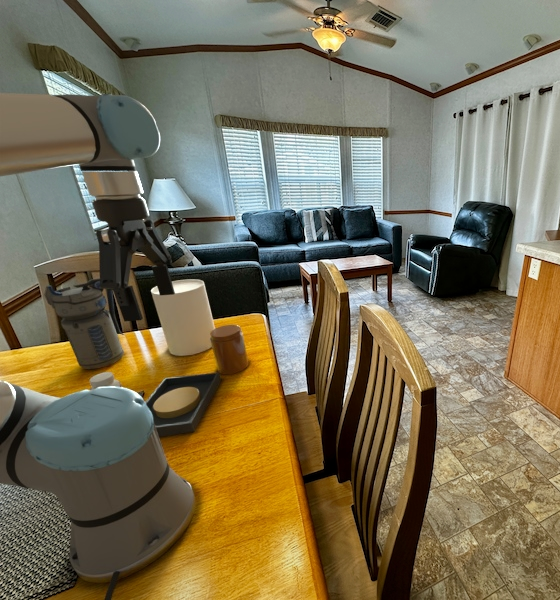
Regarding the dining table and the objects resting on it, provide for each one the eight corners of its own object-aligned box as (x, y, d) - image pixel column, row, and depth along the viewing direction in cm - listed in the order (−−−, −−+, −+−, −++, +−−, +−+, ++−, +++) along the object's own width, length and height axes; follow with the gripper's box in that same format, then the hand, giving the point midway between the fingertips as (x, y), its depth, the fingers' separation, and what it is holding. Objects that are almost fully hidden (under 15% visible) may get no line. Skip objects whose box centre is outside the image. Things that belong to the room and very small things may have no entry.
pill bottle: (128, 414, 76) (114, 378, 72) (98, 423, 73) (82, 387, 69) (130, 401, 80) (117, 367, 76) (102, 409, 77) (87, 374, 73)
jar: (244, 372, 91) (237, 335, 87) (213, 375, 89) (204, 338, 85) (251, 357, 98) (244, 323, 94) (222, 360, 97) (214, 325, 92)
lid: (147, 421, 73) (144, 414, 72) (166, 395, 81) (164, 389, 80) (192, 415, 74) (190, 409, 74) (206, 390, 83) (204, 384, 82)
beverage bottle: (140, 355, 100) (113, 277, 90) (84, 376, 89) (47, 291, 80) (126, 346, 105) (100, 271, 96) (72, 365, 95) (36, 284, 85)
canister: (160, 348, 104) (142, 288, 96) (203, 331, 114) (189, 277, 107) (183, 360, 97) (164, 297, 90) (226, 341, 108) (213, 283, 100)
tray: (194, 432, 70) (191, 422, 69) (124, 441, 68) (121, 432, 67) (221, 379, 88) (219, 371, 87) (167, 385, 85) (164, 377, 84)
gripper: (133, 193, 69) (161, 287, 77) (36, 204, 47) (89, 336, 54) (172, 192, 71) (195, 285, 78) (96, 203, 48) (140, 332, 56)
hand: (152, 306), depth 66 cm, fingers open, 13 cm apart
